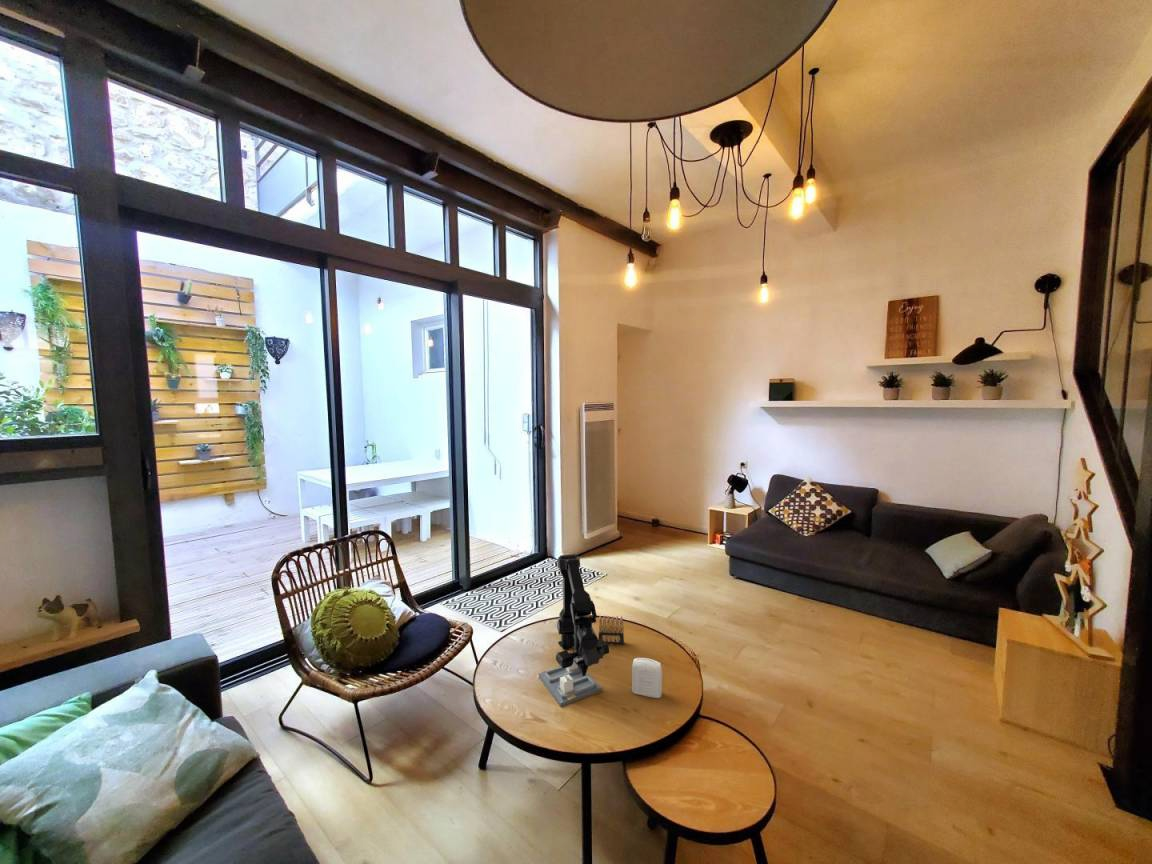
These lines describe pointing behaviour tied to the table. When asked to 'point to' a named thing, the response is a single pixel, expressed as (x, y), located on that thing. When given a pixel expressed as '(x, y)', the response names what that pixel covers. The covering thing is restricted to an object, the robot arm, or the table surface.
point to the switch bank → (581, 685)
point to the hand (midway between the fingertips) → (583, 675)
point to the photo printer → (647, 677)
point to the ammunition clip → (611, 631)
